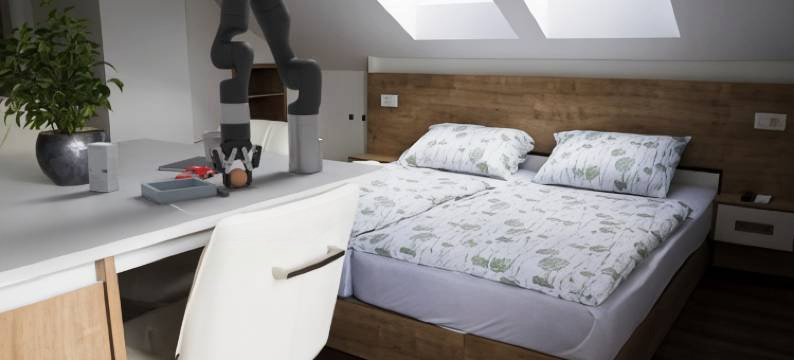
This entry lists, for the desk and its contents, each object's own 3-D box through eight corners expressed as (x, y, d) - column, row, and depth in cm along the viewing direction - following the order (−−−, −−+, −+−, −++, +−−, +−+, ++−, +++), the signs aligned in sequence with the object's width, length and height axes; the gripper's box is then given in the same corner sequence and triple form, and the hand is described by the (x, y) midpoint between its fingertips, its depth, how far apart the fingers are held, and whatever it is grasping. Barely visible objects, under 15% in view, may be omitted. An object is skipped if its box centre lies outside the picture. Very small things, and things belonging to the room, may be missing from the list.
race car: (186, 187, 169) (186, 172, 168) (170, 185, 171) (169, 171, 170) (217, 178, 181) (217, 164, 180) (202, 176, 183) (201, 163, 182)
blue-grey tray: (196, 188, 166) (196, 177, 165) (216, 197, 156) (216, 185, 156) (141, 195, 157) (140, 183, 157) (159, 205, 148) (158, 192, 147)
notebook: (198, 160, 213) (158, 171, 193) (198, 156, 212) (158, 166, 192) (232, 162, 209) (195, 173, 189) (232, 158, 209) (195, 168, 189)
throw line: (200, 185, 169) (200, 180, 169) (229, 197, 155) (229, 192, 155) (196, 186, 169) (196, 181, 168) (224, 198, 155) (224, 192, 154)
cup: (221, 169, 194) (219, 130, 192) (232, 172, 189) (230, 132, 187) (199, 172, 189) (197, 131, 187) (210, 175, 184) (208, 134, 182)
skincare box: (88, 191, 162) (84, 144, 159) (101, 187, 166) (98, 141, 164) (108, 193, 160) (104, 145, 158) (121, 189, 164) (117, 142, 162)
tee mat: (245, 184, 172) (245, 182, 172) (258, 189, 166) (258, 187, 166) (217, 187, 167) (217, 186, 167) (229, 193, 161) (229, 191, 161)
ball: (242, 184, 170) (241, 165, 169) (250, 187, 166) (250, 168, 165) (224, 186, 167) (224, 167, 166) (232, 189, 163) (232, 170, 162)
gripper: (254, 118, 170) (256, 180, 173) (202, 121, 161) (205, 186, 165) (267, 120, 164) (269, 185, 168) (214, 123, 156) (217, 191, 159)
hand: (237, 185), depth 166 cm, fingers closed on ball, 5 cm apart
